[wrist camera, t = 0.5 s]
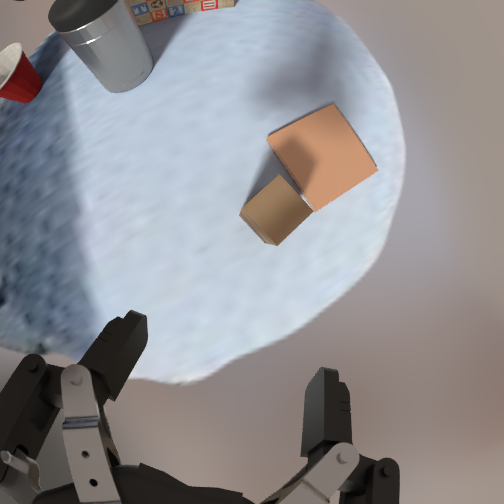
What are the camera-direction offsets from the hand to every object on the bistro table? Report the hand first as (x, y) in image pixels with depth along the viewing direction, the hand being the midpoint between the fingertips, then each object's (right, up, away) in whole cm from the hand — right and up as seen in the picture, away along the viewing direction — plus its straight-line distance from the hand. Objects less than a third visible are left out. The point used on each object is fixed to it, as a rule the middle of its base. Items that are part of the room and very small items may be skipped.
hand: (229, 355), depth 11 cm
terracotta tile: (+11, +18, +25) cm, 33 cm away
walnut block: (+3, +9, +25) cm, 27 cm away
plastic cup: (-42, +36, +20) cm, 59 cm away
